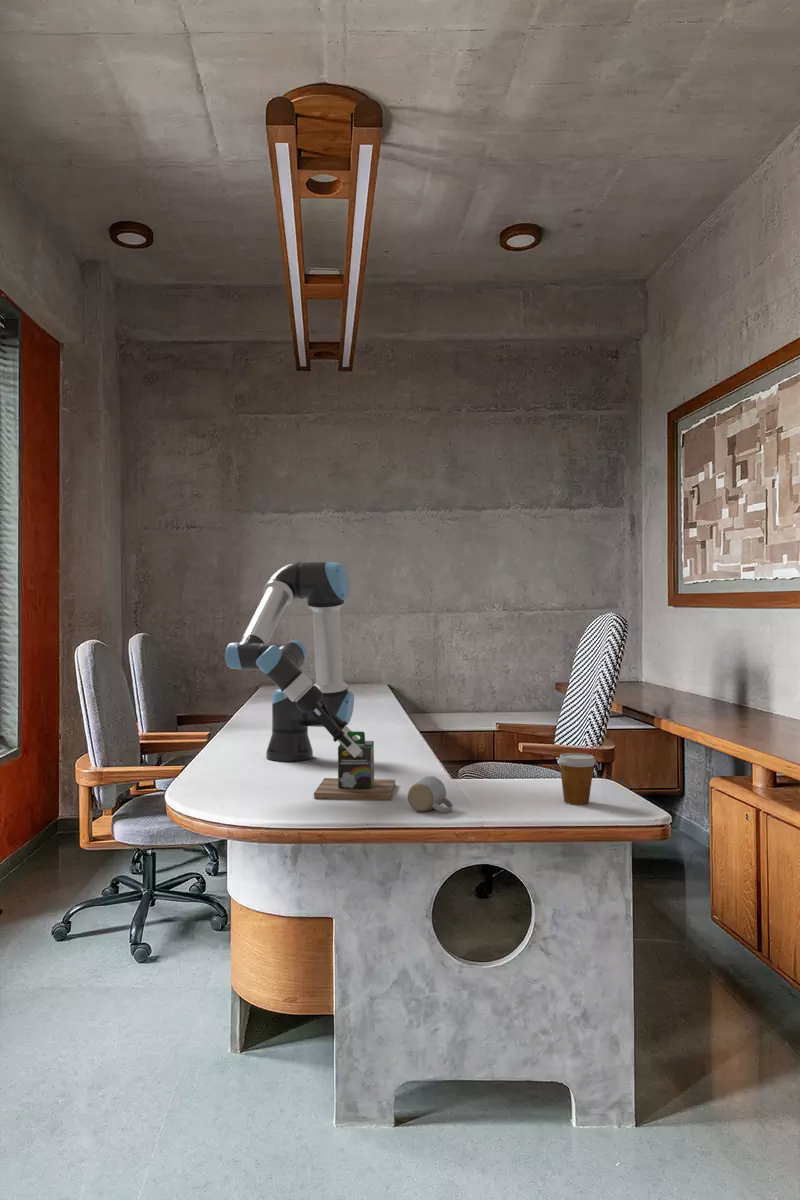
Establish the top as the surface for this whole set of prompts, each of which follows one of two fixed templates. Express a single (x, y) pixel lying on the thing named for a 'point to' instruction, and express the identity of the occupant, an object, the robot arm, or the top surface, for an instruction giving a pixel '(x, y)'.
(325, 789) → the walnut board
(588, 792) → the disposable coffee cup
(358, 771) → the chalk box
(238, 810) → the top surface
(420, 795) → the ceramic mug
